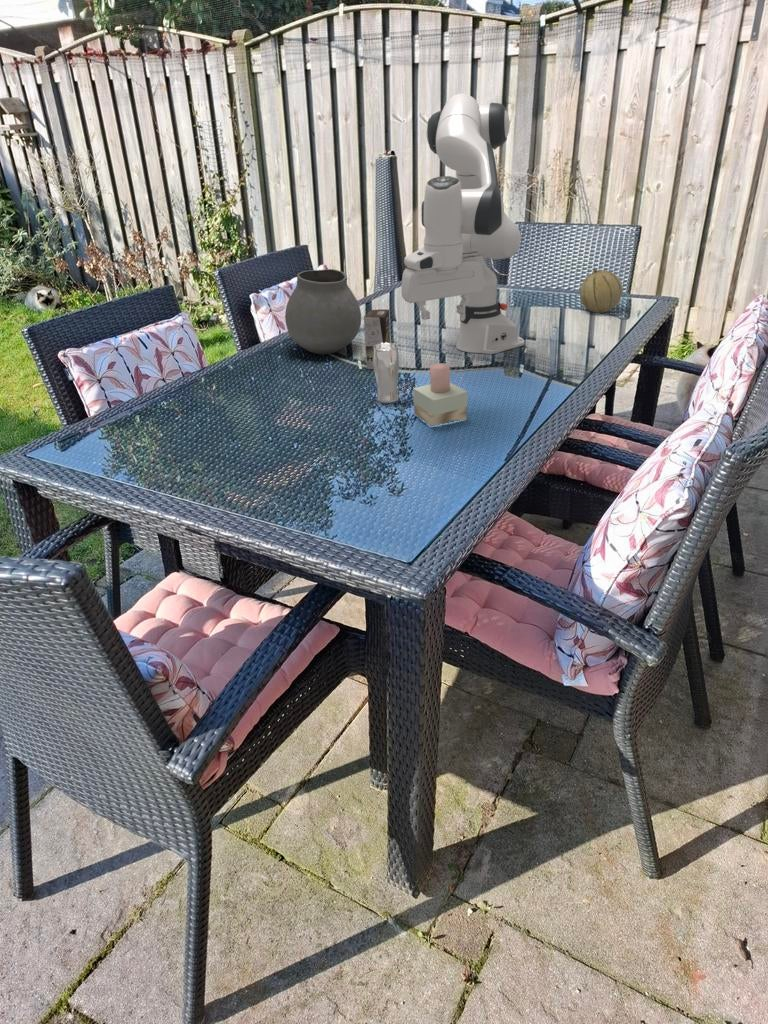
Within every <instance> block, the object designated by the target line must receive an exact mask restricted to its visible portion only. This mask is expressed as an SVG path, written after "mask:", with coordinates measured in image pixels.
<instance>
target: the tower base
mask: <svg viewBox="0 0 768 1024" xmlns="http://www.w3.org/2000/svg"><path fill="white" fill-rule="evenodd" d="M413 404H414V403H413ZM413 406H414V407H413V410H414V412H413V415H414V414H416V415H417V416H418V417H419V418H421V419H422V420H424V421H425V422H426V423H428V424H429V425H430V426H435V425H440V424H445V423H449V422H454V421H460V420H465V419H467V418H468V415H467V413H468V412H467V410H468V407H465V408H461V409H457V410H453V411H450V412H446V413H442V414H438V415H435V416H434V415H432V414H431V413H429V412H427V411H426V410H424V409H422V408H421V407H419V406H418V405H416V404H414V405H413ZM416 415H415V416H416ZM417 416H416V417H417ZM418 417H417V418H418ZM419 418H418V419H419ZM422 420H421V421H422Z"/></svg>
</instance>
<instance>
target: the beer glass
mask: <svg viewBox="0 0 768 1024" xmlns="http://www.w3.org/2000/svg"><path fill="white" fill-rule="evenodd" d="M398 347H399V346H398V344H396V343H393V342H391V343H380V344H376V345H374V346H373V365H374V369H373V371H374V375H375V380H376V384H377V396H376V401H377V403H380V404H385V405H386V404H387V405H388V403H389V404H394V403H397V402H398V401H400V400H399V399H400V398H399V397H400V396H399V393H398V378H399V373H400V372H399V371H400V357H399V356H400V354H399V348H398ZM396 401H397V402H396Z"/></svg>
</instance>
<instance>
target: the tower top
mask: <svg viewBox="0 0 768 1024" xmlns="http://www.w3.org/2000/svg"><path fill="white" fill-rule="evenodd" d="M412 391H413V392H412V394H413V396H412V397H413V400H412V401H413V404H416V405H418V406H419V407H421V408H422V409H424V410H426V411H427V412H429V413H431V414H432V415H434V416H435V415H438V414H442V413H446V412H450V411H453V410H457V409H461V408H465V407H466V408H468V406H469V405H468V404H469V403H468V402H469V400H468V397H469V396H468V395H469V393H468V391H467V390H465V389H464V388H462V387H460V386H458V385H455V384H454V383H452V382H450V390H449V391H448V392H445V393H435V392H432V391H431V390H430V383H429V384H425V385H424V384H423V385H421V386H417V387H413V388H412Z"/></svg>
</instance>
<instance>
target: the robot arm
mask: <svg viewBox="0 0 768 1024" xmlns="http://www.w3.org/2000/svg"><path fill="white" fill-rule="evenodd" d="M510 128H511V122H510V116H509V113H508V111H507V108H506V107H505V106H504V105H503V103H498V102H490V103H489V104H488V103H487V104H485V103H478V101H477V100H476V99H475V98H474V97H473V96H471V95H469V94H467V93H458V94H455V95H453V96H451V97H450V98H449V99H448V100H447V101H446V102H445V104H444V107H443V109H442V110H438V111H436V112H434V113H433V114H432V115H431V116H430V117H429V119H428V120H427V126H426V130H425V134H426V141H427V144H428V147H429V149H430V151H431V152H433V154H436V155H437V156H438V158H439V160H440V162H441V163H442V164H444V165H445V166H446V167H448V169H451V170H453V171H455V174H456V175H455V176H449V175H444V176H443V175H442V176H436V177H433V178H431V179H429V180H428V181H427V182H426V185H425V190H424V198H423V201H422V202H421V225H422V227H424V230H425V234H424V239H423V247H421V248H419V249H418V250H416V251H414V252H412V253H410V254H408V255H406V256H405V257H404V260H403V263H404V266H406V268H405V269H404V270H403V272H402V276H401V277H402V278H401V296H402V297H401V298H402V299H403V300H404V301H405V302H407V303H409V304H414V303H415V304H416V306H417V307H418V309H419V310H420V312H421V313H420V314H421V317H420V318H421V319H422V320H424V321H426V320H430V319H431V316H430V315H431V312H430V311H429V310H427V309H426V308H425V306H426V305H427V303H426V302H427V301H433V300H439V299H447V298H452V297H458V296H460V298H461V299H460V302H459V304H456V313H457V314H459V323H460V324H459V332H458V337H457V341H456V344H455V347H456V349H458V350H459V351H462V352H466V353H474V354H475V353H477V354H478V353H479V354H485V355H494V354H497V353H501V352H504V351H505V352H506V351H508V350H512V349H515V348H519V347H523V346H525V344H526V343H525V340H524V338H522V337H521V336H519V333H518V332H519V331H518V327H517V325H516V324H515V322H513V321H512V320H511V319H509V318H508V317H507V316H506V315H504V313H502V311H504V312H505V311H506V310H507V309H508V304H506V303H504V302H502V303H501V302H499V301H497V299H498V298H497V291H498V278H497V275H496V273H494V272H493V271H492V270H491V269H490V268H489V267H488V265H487V263H486V261H485V260H484V259H488V260H489V259H491V260H503V259H510V258H512V257H514V255H515V254H516V253H517V251H518V250H519V248H520V246H521V240H522V237H521V231H520V229H519V226H517V224H515V222H513V221H512V220H511V219H510V218H509V217H508V215H507V213H506V212H505V207H504V200H503V197H502V193H501V189H500V185H499V184H500V183H499V179H498V172H497V165H496V158H495V153H494V150H497V149H498V148H499V147H501V146H503V145H504V144H505V142H506V141H507V140H508V136H509V133H510Z"/></svg>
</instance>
